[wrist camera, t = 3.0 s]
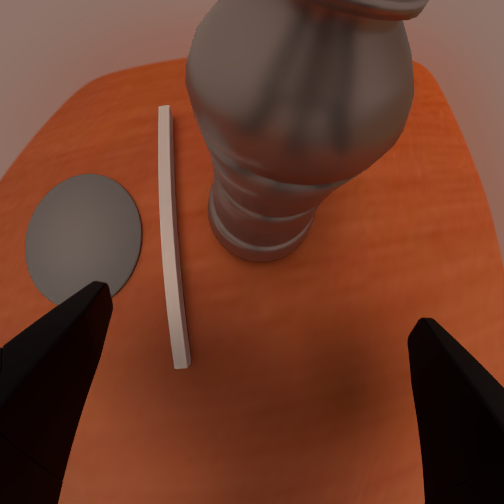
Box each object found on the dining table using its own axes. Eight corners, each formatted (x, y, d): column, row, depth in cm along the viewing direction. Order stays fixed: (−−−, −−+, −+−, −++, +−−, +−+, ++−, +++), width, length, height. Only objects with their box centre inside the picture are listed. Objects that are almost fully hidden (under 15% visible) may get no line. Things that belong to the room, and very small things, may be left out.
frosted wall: (163, 120, 23) (158, 106, 21) (173, 119, 23) (169, 104, 21) (179, 363, 20) (174, 368, 18) (191, 362, 20) (187, 368, 18)
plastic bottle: (200, 257, 21) (59, -51, 2) (221, 166, 22) (219, -134, 3) (295, 275, 21) (585, 99, 2) (309, 183, 23) (460, -71, 3)
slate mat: (167, 207, 22) (166, 205, 21) (103, 335, 20) (101, 335, 19) (67, 159, 22) (65, 157, 21) (11, 268, 20) (8, 268, 20)
